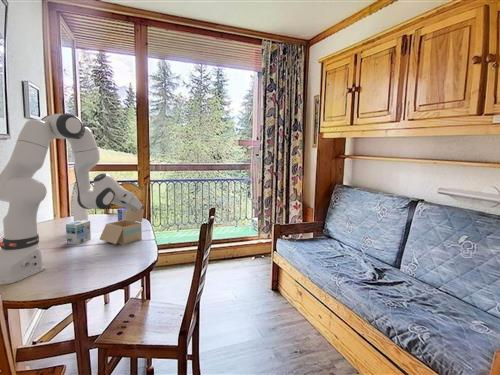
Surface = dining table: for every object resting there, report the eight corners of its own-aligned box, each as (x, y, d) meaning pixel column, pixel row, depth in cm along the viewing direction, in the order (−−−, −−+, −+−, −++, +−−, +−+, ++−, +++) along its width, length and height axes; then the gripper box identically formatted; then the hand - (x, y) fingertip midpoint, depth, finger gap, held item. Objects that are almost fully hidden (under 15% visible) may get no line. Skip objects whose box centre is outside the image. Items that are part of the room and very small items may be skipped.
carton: (116, 246, 160) (115, 229, 159) (99, 242, 167) (98, 225, 166) (141, 239, 174) (141, 222, 173) (125, 234, 181) (124, 219, 180)
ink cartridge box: (130, 224, 205) (130, 203, 203) (136, 225, 202) (135, 204, 200) (117, 227, 196) (116, 205, 194) (122, 229, 193) (122, 206, 191)
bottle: (72, 231, 185) (69, 181, 181) (86, 229, 191) (84, 181, 187) (76, 234, 180) (74, 183, 176) (91, 231, 186) (89, 182, 182)
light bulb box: (77, 245, 161) (76, 225, 160) (66, 243, 162) (65, 224, 161) (91, 239, 172) (90, 220, 170) (80, 238, 173) (80, 219, 171)
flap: (143, 206, 174) (144, 206, 174) (128, 203, 180) (128, 203, 181) (141, 222, 173) (141, 222, 174) (125, 219, 180) (126, 219, 180)
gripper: (103, 198, 170) (119, 212, 180) (128, 202, 160) (143, 217, 170) (110, 189, 174) (125, 203, 183) (135, 192, 164) (149, 207, 173)
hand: (134, 210), depth 177 cm, fingers closed, pressing on flap
